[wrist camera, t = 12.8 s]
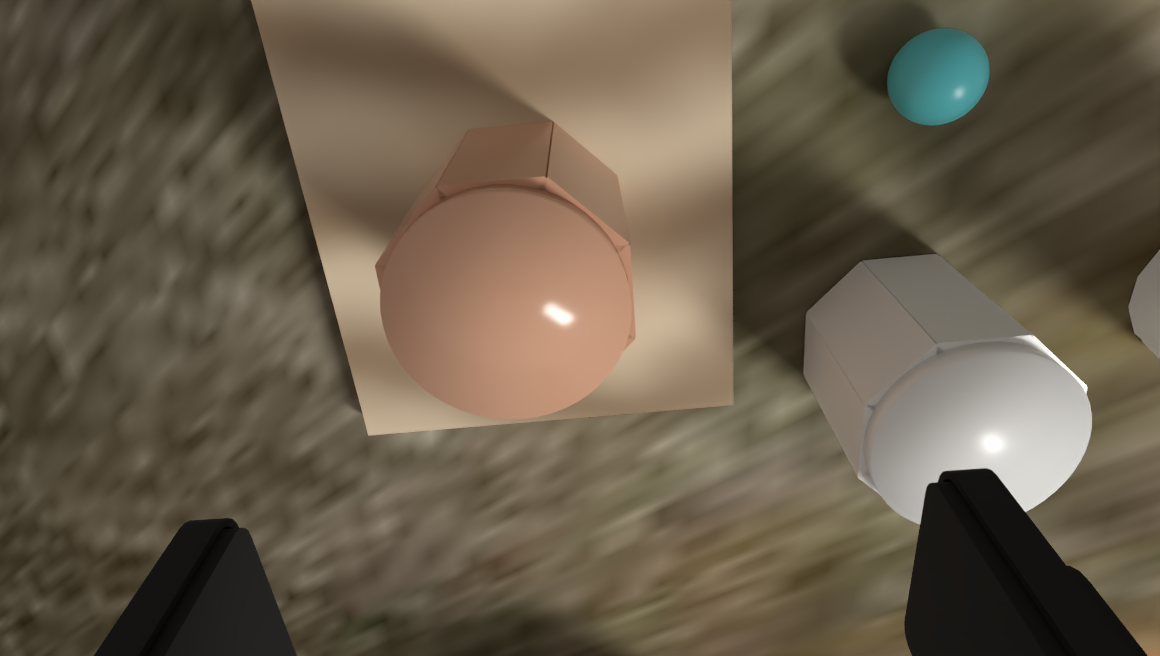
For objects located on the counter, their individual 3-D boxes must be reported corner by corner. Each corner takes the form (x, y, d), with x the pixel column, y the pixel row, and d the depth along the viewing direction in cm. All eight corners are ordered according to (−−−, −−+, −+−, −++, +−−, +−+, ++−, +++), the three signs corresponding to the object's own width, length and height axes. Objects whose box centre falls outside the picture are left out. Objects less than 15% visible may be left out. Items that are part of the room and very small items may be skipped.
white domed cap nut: (807, 265, 31) (877, 360, 24) (991, 248, 31) (1117, 340, 23) (801, 416, 34) (861, 539, 27) (966, 402, 34) (1070, 523, 27)
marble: (877, 28, 27) (913, 38, 24) (968, 19, 27) (1016, 27, 24) (870, 119, 28) (903, 139, 25) (957, 111, 28) (1000, 129, 25)
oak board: (261, -13, 26) (248, -11, 25) (724, -62, 25) (731, -63, 24) (374, 420, 34) (368, 435, 33) (728, 390, 34) (733, 404, 33)
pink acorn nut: (409, 134, 27) (350, 201, 20) (613, 116, 27) (627, 177, 20) (443, 317, 31) (403, 430, 23) (625, 302, 30) (641, 412, 23)
